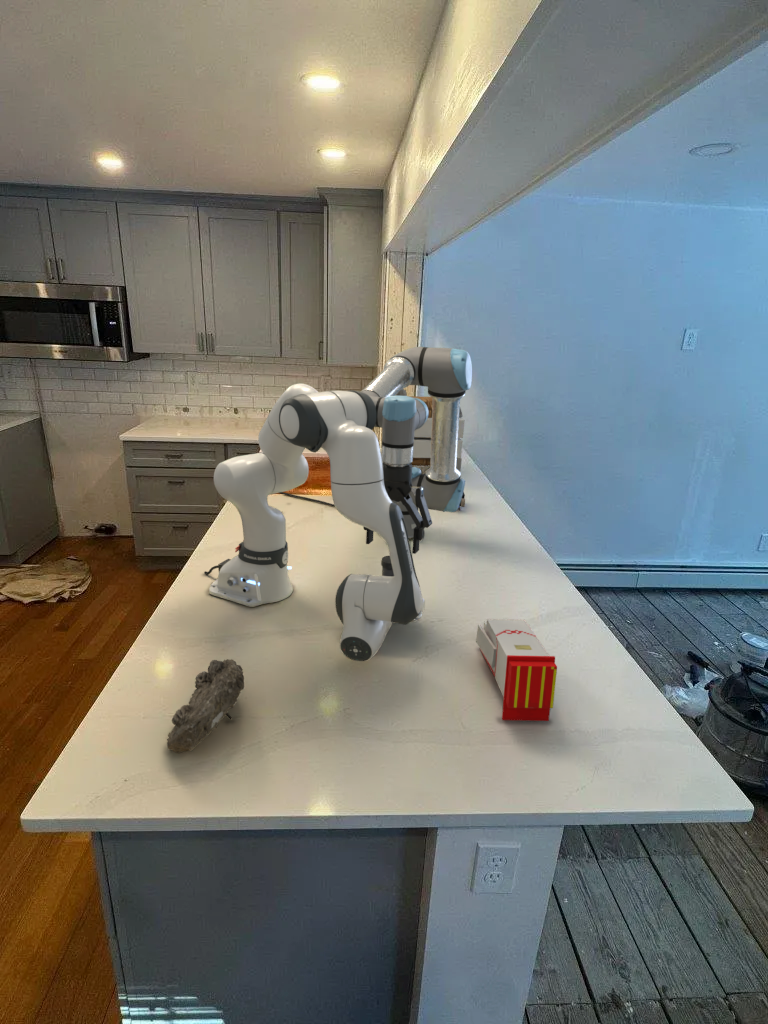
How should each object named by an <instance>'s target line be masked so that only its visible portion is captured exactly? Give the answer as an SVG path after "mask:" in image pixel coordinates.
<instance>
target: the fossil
mask: <svg viewBox="0 0 768 1024" xmlns="http://www.w3.org/2000/svg"><path fill="white" fill-rule="evenodd" d="M243 670H244V669H243V667H242V665H240V664H237V662H236V661H235V660H234V659H232V658H231V659H227V658H226V659H224V660H223V661H222V660H217V659H212V660H211V661H210V663H209V665H208V666H207V671H201V672H199V673H198V674H197V675H196V676H195V680H194V684H195V685H194V687H195V689H194V690H193V693H192V694H191V697H190V698H189V700H188V704H184V705H182V706H181V707H180V709H177V710H176V711H175V713H174V715H173V716H172V718H171V723H172V724H173V727H172V730H171V731H170V732H168V734H167V738H166V741H167V742H166V745H167V749H168V750H169V751H173V752H174V753H176V754H178V753H182V752H188V751H189V752H192V751H193V750H195V748H196V747H197V746H199V744H200V743H201V742H203V741H204V740H205V739H206V738H207V737H208V736H209V735H210V734H211V733H212V732H214V730H215V729H217V727H218V726H219V724H220V722H221V721H222V720H223V719H224V718H225V716H226V717H227V719H229V720H233V717H232V715H230V714H229V710H230V709H231V708H234V706H235V704H236V703H237V702H238V699H239V697H240V695H241V693H242V691H243V690H245V689H244V688H245V675H244V671H243Z"/></svg>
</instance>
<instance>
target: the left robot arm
mask: <svg viewBox="0 0 768 1024" xmlns="http://www.w3.org/2000/svg"><path fill="white" fill-rule="evenodd" d="M376 418H377V413H376V407H375V404H374V402H373V400H372V399H371V398H370V396H368V395H367V394H365V393H363V392H361V391H359V390H354V389H349V390H324V391H318V390H317V389H316V388H314V387H313V386H311V385H309V384H306V383H294V384H292V385H290V386H288V387H287V388H286V389H285V390H284V392H283V393H282V394H281V395H280V396H279V397H278V398H277V400H276V402H275V403H274V404H273V406H272V407H271V409H270V411H269V413H268V415H267V417H266V419H265V421H264V423H263V424H262V427H261V428H260V430H259V433H258V437H257V438H258V446H259V448H260V451H259V452H257V453H249V454H244V455H238V456H233V457H231V458H228V459H226V460H223V461H221V462H219V463H218V464H217V465H216V467H215V469H214V472H213V485H214V487H215V490H216V492H217V493H218V494H219V496H220V497H221V498H222V499H224V500H226V501H227V502H229V503H231V504H232V505H233V506H234V507H235V508H236V510H237V511H238V513H239V516H240V519H241V524H242V534H243V539H242V541H241V542H240V543H239V544H238V546H236V547H235V548H234V550H235V551H234V553H237V552H238V554H236V555H235V556H234V557H231V558H227V559H225V560H223V561H221V562H219V563H218V565H214V566H212V567H211V568H210V569H209V570H208V571H206V570H205V571H203V573H204V575H211V573H212V572H213V570H216V569H218V574H217V578H216V579H215V580H214V581H213V582H212V583H211V584H210V586H209V588H208V589H209V591H208V592H209V595H212V596H215V597H218V598H221V599H224V600H227V601H229V602H233V603H237V604H239V605H243V606H245V607H250V608H254V607H258V606H261V605H264V604H265V605H266V604H272V603H277V602H280V601H283V600H285V599H287V598H288V597H289V596H291V595H292V594H293V591H294V587H293V584H292V581H291V577H290V574H289V570H292V568H293V567H292V566H288V563H289V546H288V545H289V544H288V541H287V523H286V521H287V520H286V516H285V515H284V513H283V511H281V510H280V509H278V508H277V507H274V506H271V505H269V501H268V497H269V496H270V495H274V494H280V492H284V493H285V492H289V491H292V490H293V489H296V488H298V487H300V486H302V485H304V484H305V483H306V481H307V480H308V477H309V474H310V470H309V469H310V467H309V463H308V460H307V458H306V457H305V455H304V454H303V453H304V451H305V449H306V450H307V451H310V452H311V453H313V454H314V453H317V452H318V451H320V450H321V449H323V450H324V452H325V453H326V454H327V456H328V458H329V465H330V466H329V467H330V469H329V470H330V472H329V473H330V474H329V475H330V492H331V497H332V502H333V503H332V504H334V505H335V507H334V508H335V509H336V511H338V513H339V514H340V515H341V516H342V517H343V518H345V519H346V520H348V521H350V522H352V523H353V524H356V525H359V526H361V527H366V528H368V529H370V530H372V531H374V532H373V533H375V534H377V535H379V536H380V537H381V538H382V539H383V540H384V542H385V543H386V545H387V548H388V549H387V550H388V554H389V556H390V559H391V563H392V568H393V573H394V576H382V575H373V574H365V573H350V574H348V575H347V576H346V577H344V579H343V580H342V581H341V583H340V584H339V585H338V588H337V590H336V593H335V599H334V600H335V602H334V603H335V611H336V614H337V617H338V619H339V622H341V624H342V632H341V636H340V640H339V648H340V651H341V652H342V654H343V655H344V656H345V657H346V658H348V659H349V660H351V661H356V662H366V661H369V660H371V659H372V658H373V657H374V656H375V655H376V654H377V653H378V651H379V650H380V648H381V647H382V645H383V644H384V641H385V639H386V636H387V634H388V632H389V631H390V630H391V627H392V626H393V623H395V624H398V625H399V624H400V625H408V624H410V623H416V621H420V620H421V619H422V616H423V613H424V612H425V606H426V605H425V604H426V600H425V598H424V597H423V593H422V589H421V585H420V581H419V578H418V576H417V572H416V568H415V564H414V559H413V553H412V549H411V544H410V540H409V539H408V534H407V530H406V526H405V522H404V518H403V515H402V512H401V509H400V507H399V506H398V505H396V504H395V503H393V502H392V501H391V499H390V498H389V496H388V494H387V492H386V489H385V485H384V474H383V463H382V456H381V446H380V442H379V438H378V436H377V434H376V432H375V431H373V430H374V429H375V427H374V426H375V424H376Z"/></svg>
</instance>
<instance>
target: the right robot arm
mask: <svg viewBox="0 0 768 1024" xmlns="http://www.w3.org/2000/svg"><path fill="white" fill-rule="evenodd" d="M472 363H473V362H472V359H471V355H470V353H469V352H468V351H467V350H464V349H458V348H454V347H431V346H430V347H427V346H414V347H411V348H407V349H405V350H402V351H399V352H398V353H396V354H394V355H393V356H391V357H390V358H389V359H388V360H387V361H386V362H385V364H384V366H383V369H382V370H381V372H379V373H378V374H377V375H376V376H375V377H374V378H373V379H372V380H371V381H369V382H368V384H367V385H366V386H364V388H362V389H361V391H360V392H363V393H365V394H367V395H368V396H370V398H371V399H372V400H373V402H374V404H375V407H376V413H377V418H376V424H375V426H374V428H381V429H382V431H381V448H380V451H381V456H382V463H383V474H384V485H385V489H386V492H387V494H388V496H389V498H390V499H391V501H392V502H393V503H395V504H396V505H398V506H399V507H400V509H401V512H402V515H403V518H404V522H405V526H406V530H407V534H408V539H409V541H410V540H412V550H411V553H412V555H413V554H414V555H416V554H417V553H418V551H420V543H421V542H422V540H424V535H425V529H426V528H427V529H428V528H430V526H432V525H433V520H432V517H431V513H430V511H429V510H432V511H439V512H443V513H445V512H447V513H455V512H457V511H458V510H459V509H458V507H459V505H460V502H461V499H462V495H463V491H465V486H466V480H465V479H464V478H462V477H461V474H460V472H459V471H458V470H457V469H456V462H457V445H458V427H459V410H460V408H461V400H462V399H463V398H464V396H466V391H468V390H470V389H471V387H472V383H473V381H472V380H473V365H472ZM409 386H419V387H420V386H421V387H427V394H428V397H431V398H432V429H431V459H430V466H429V468H428V469H427V470H426V471H425V473H422V469H421V468H419V467H417V466H412V465H411V463H412V461H413V447H414V446H413V445H414V431H415V430H417V429H419V428H420V427H422V426H423V425H424V423H425V422H426V421H427V419H428V415H429V411H428V407H427V405H426V404H425V402H424V401H422V400H421V399H418V398H412V397H409V396H410V395H407V396H396V394H397V393H398V392H399V391H400V390H401V389H402V388H403V389H405V388H408V387H409ZM280 494H281V495H283V496H288V497H293V498H297V499H300V500H307V501H311V502H315V503H320V504H324V505H326V506H329V507H333V508H336V507H335V505H334V503H330V502H327V501H323V500H319V499H316V498H310V497H305V496H301V495H297V494H292V493H288V492H285V491H284V492H280V493H279V495H280ZM362 527H363V526H362ZM363 531H366V533H365V534H366V535H365V537H366V539H365V544H366V545H370V544H371V543H372V542H373V541H374V533H375V532H374V531H372V530H370V529H368V528H366V527H363Z"/></svg>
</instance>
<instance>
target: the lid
mask: <svg viewBox="0 0 768 1024" xmlns="http://www.w3.org/2000/svg"><path fill="white" fill-rule="evenodd" d="M380 565H381V568H382V567H383V568H385V569H390V570H393V568H392V563H391V559H390V555H385V556H382V557H381V560H380Z"/></svg>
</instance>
